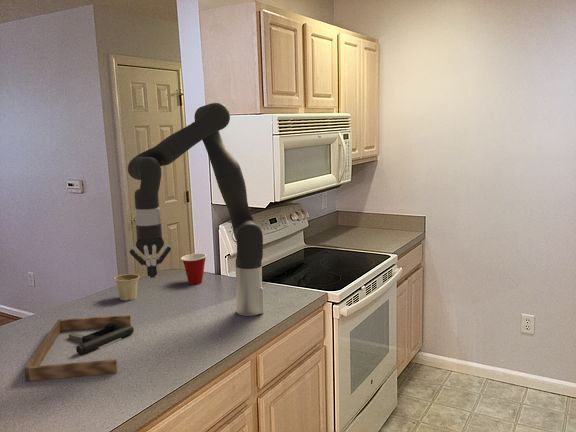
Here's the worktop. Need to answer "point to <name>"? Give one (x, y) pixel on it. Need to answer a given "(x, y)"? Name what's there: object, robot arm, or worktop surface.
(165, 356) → the worktop surface
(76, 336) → the door handle
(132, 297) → the flower pot
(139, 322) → the worktop surface
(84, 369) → the box
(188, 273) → the plastic cup
